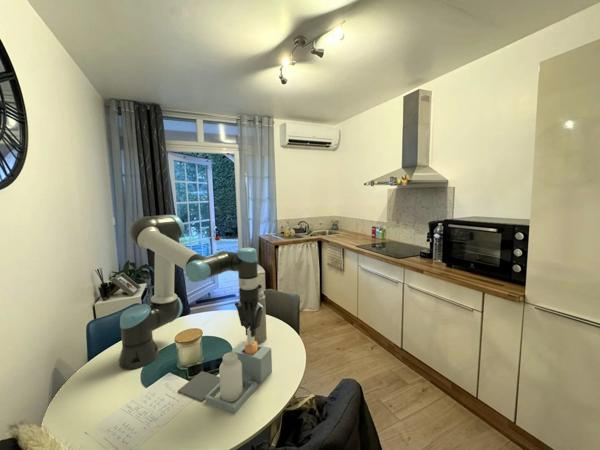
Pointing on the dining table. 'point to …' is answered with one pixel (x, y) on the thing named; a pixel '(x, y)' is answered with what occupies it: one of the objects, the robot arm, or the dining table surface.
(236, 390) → the pill bottle
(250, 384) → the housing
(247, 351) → the plunger
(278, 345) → the dining table surface
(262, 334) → the thermos bottle
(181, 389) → the mat
